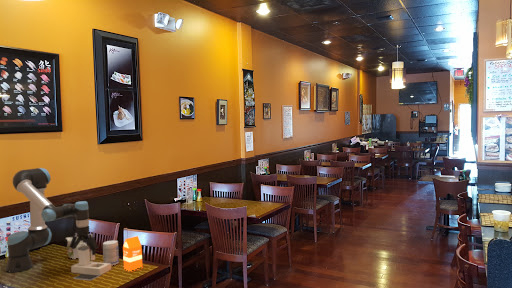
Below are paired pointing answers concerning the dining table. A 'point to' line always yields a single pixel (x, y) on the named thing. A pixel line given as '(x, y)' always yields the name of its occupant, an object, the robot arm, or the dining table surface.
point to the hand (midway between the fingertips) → (84, 259)
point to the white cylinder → (84, 255)
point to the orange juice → (132, 253)
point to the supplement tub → (111, 252)
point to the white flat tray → (91, 268)
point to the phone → (86, 277)
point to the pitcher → (70, 250)
